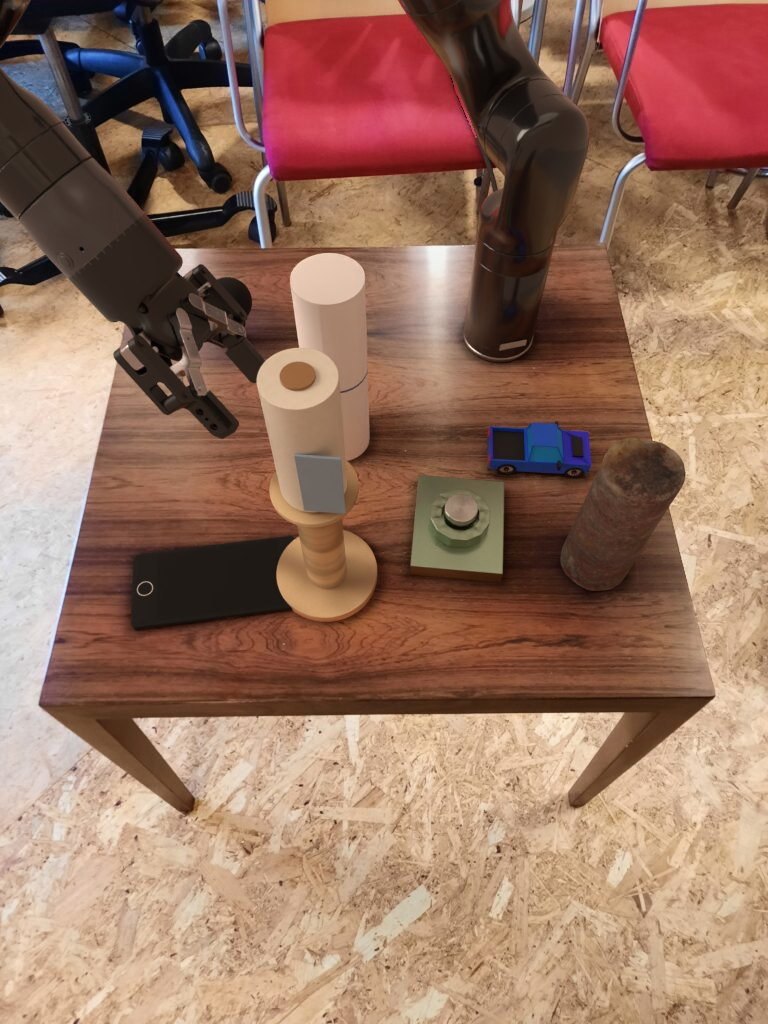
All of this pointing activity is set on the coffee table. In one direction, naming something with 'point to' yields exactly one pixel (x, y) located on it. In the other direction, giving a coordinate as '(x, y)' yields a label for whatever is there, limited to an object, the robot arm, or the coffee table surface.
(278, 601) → the cell phone
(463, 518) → the button
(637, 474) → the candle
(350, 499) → the towel holder
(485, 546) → the button box
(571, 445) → the toy car
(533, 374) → the coffee table surface
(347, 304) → the cylindrical container
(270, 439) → the towel roll
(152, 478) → the coffee table surface
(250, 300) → the light bulb
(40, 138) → the robot arm
